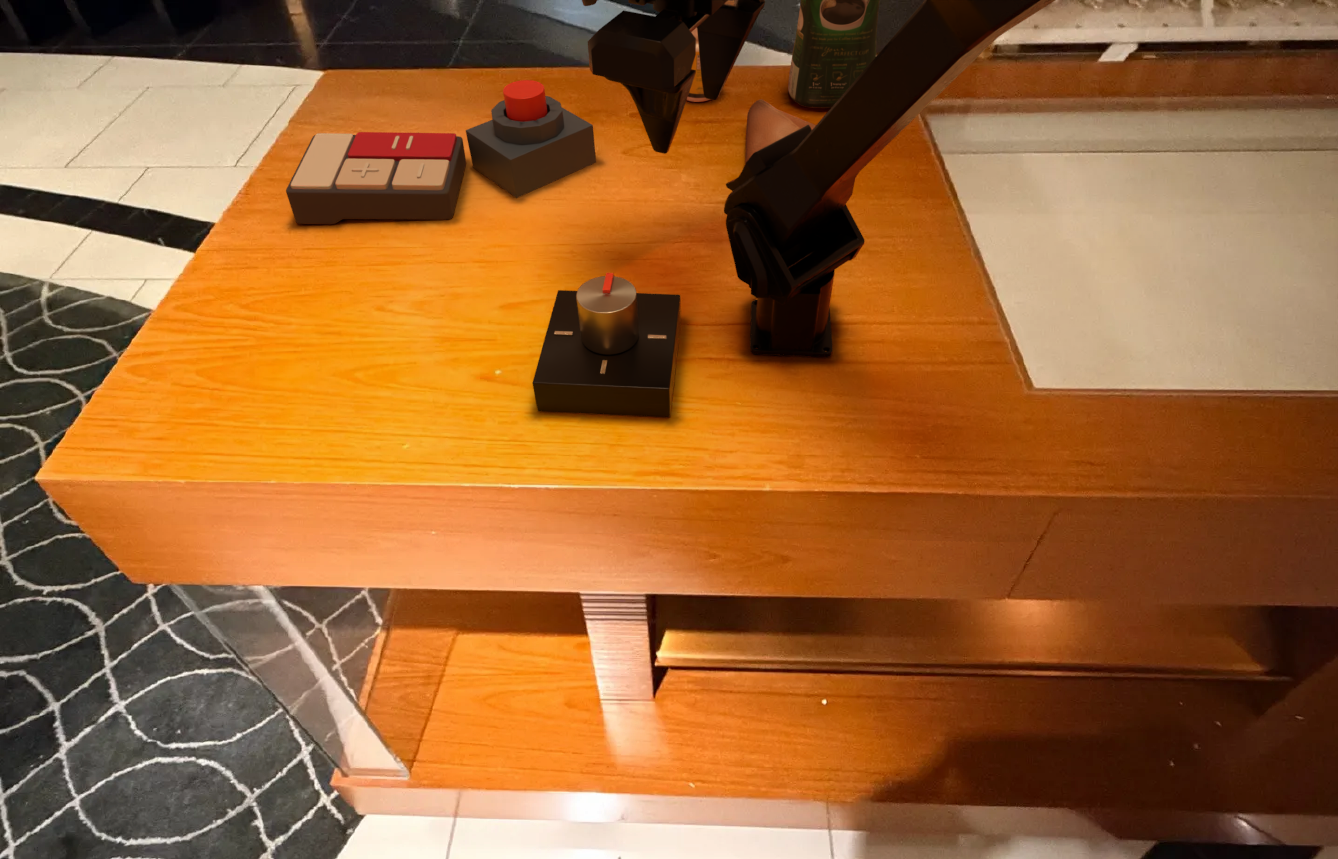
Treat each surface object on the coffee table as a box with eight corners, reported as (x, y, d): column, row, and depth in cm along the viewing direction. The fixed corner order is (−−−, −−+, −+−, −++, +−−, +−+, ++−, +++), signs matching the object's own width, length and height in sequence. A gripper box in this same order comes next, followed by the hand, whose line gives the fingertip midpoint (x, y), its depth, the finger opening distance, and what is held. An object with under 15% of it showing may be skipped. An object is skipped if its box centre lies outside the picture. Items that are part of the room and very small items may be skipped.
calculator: (446, 186, 80) (281, 184, 79) (453, 226, 83) (294, 224, 82) (462, 128, 87) (311, 126, 86) (467, 167, 90) (322, 165, 89)
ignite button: (555, 114, 85) (552, 89, 83) (522, 128, 83) (518, 102, 81) (532, 100, 87) (528, 76, 85) (499, 113, 85) (494, 88, 83)
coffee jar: (867, 81, 101) (894, -98, 87) (875, 112, 96) (905, -73, 82) (784, 80, 101) (799, -98, 88) (787, 112, 96) (803, -72, 82)
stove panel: (670, 418, 64) (669, 387, 61) (537, 411, 64) (531, 381, 62) (680, 323, 71) (680, 292, 69) (561, 318, 72) (557, 288, 69)
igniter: (596, 163, 89) (591, 107, 85) (516, 198, 85) (507, 142, 80) (551, 135, 93) (544, 81, 89) (472, 168, 89) (461, 113, 84)
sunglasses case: (835, 217, 80) (804, 160, 76) (768, 248, 83) (735, 195, 79) (824, 125, 93) (797, 72, 89) (766, 155, 96) (737, 105, 92)
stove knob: (635, 356, 64) (632, 310, 61) (577, 353, 64) (571, 308, 61) (641, 318, 67) (639, 273, 64) (585, 316, 67) (580, 271, 64)
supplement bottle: (671, 88, 100) (670, 14, 94) (709, 81, 102) (710, 7, 95) (686, 106, 97) (686, 30, 91) (725, 98, 98) (727, 23, 92)
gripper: (642, -155, 63) (648, 57, 75) (502, -77, 52) (534, 158, 63) (785, -137, 60) (767, 81, 71) (669, -50, 48) (670, 193, 60)
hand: (687, 124), depth 66 cm, fingers open, 9 cm apart
